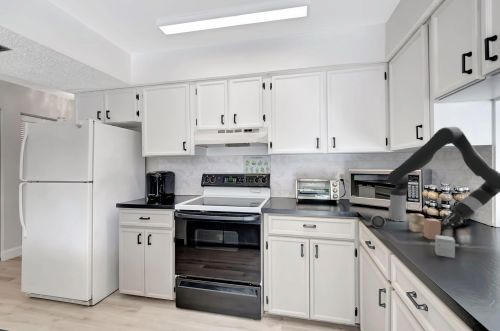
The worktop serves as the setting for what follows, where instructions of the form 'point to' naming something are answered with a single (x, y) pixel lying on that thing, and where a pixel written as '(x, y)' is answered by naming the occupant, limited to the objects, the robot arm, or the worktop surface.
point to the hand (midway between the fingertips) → (438, 230)
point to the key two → (432, 228)
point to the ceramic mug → (376, 221)
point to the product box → (445, 246)
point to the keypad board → (434, 243)
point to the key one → (416, 222)
